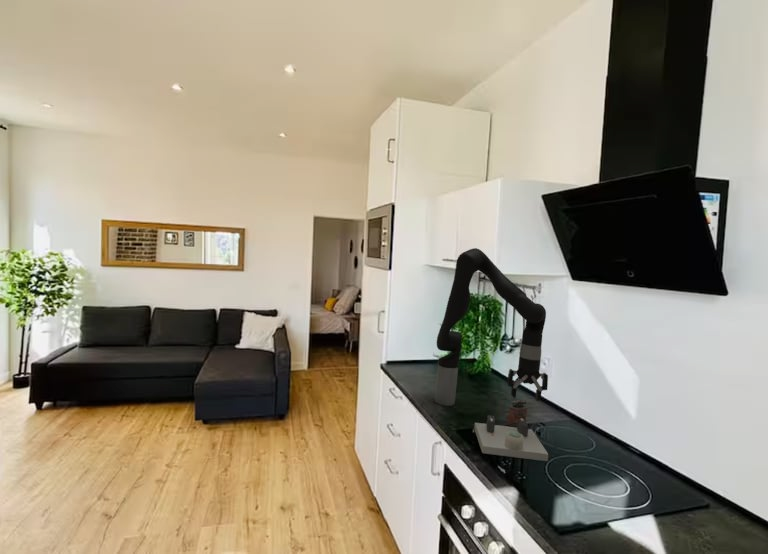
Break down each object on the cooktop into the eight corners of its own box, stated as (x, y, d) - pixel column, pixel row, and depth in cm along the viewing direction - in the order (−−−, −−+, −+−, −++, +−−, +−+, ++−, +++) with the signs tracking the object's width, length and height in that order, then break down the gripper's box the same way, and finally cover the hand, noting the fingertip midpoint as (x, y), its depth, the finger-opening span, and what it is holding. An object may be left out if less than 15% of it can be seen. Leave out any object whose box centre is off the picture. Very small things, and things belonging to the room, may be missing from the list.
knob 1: (492, 426, 155) (493, 415, 155) (493, 432, 149) (495, 421, 149) (486, 425, 156) (487, 414, 155) (487, 431, 150) (488, 419, 150)
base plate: (474, 428, 158) (476, 411, 158) (531, 435, 156) (533, 417, 156) (482, 453, 138) (484, 433, 138) (547, 461, 136) (549, 441, 136)
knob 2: (520, 435, 149) (522, 424, 148) (516, 428, 155) (518, 417, 154) (527, 436, 148) (528, 424, 148) (523, 429, 154) (524, 418, 154)
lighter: (510, 426, 164) (513, 402, 163) (506, 422, 167) (508, 399, 167) (527, 425, 166) (530, 402, 165) (522, 422, 169) (525, 399, 169)
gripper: (513, 356, 147) (508, 400, 148) (552, 361, 146) (548, 404, 146) (508, 352, 154) (504, 393, 155) (546, 356, 153) (541, 397, 154)
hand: (525, 398), depth 151 cm, fingers open, 8 cm apart
